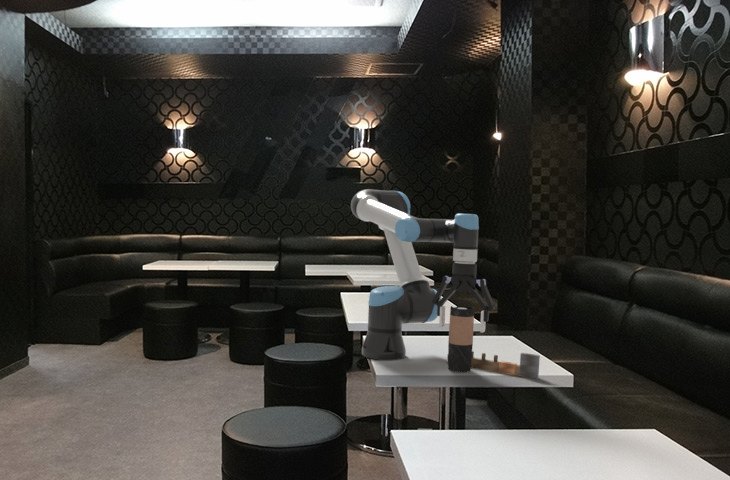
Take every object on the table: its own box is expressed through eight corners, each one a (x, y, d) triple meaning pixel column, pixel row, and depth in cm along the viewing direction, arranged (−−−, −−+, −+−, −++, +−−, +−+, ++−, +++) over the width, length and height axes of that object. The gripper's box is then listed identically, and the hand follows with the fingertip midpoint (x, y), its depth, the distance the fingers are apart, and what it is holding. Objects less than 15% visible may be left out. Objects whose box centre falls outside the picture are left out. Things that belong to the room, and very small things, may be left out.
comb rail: (446, 363, 199) (448, 342, 199) (449, 362, 201) (450, 341, 200) (537, 378, 185) (538, 356, 184) (538, 377, 186) (539, 355, 186)
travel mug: (470, 373, 187) (474, 310, 186) (446, 371, 189) (449, 308, 188) (471, 367, 195) (474, 306, 194) (447, 365, 196) (450, 304, 196)
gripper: (423, 260, 193) (421, 326, 194) (500, 265, 181) (496, 335, 182) (432, 259, 200) (430, 322, 200) (507, 264, 187) (503, 332, 188)
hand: (461, 329), depth 191 cm, fingers open, 13 cm apart
